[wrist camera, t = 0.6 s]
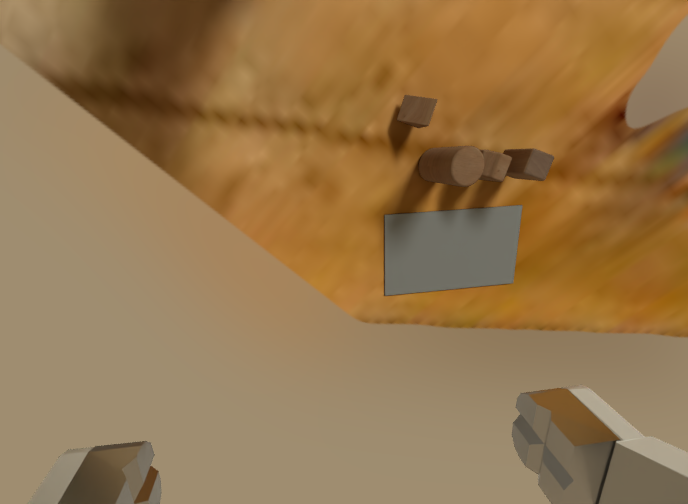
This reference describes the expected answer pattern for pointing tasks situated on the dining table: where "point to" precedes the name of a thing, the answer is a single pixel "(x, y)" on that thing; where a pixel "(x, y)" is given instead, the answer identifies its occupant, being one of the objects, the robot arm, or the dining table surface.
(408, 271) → the mat
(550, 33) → the dining table surface
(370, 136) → the dining table surface
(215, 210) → the dining table surface
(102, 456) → the robot arm
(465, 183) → the wooden block set
